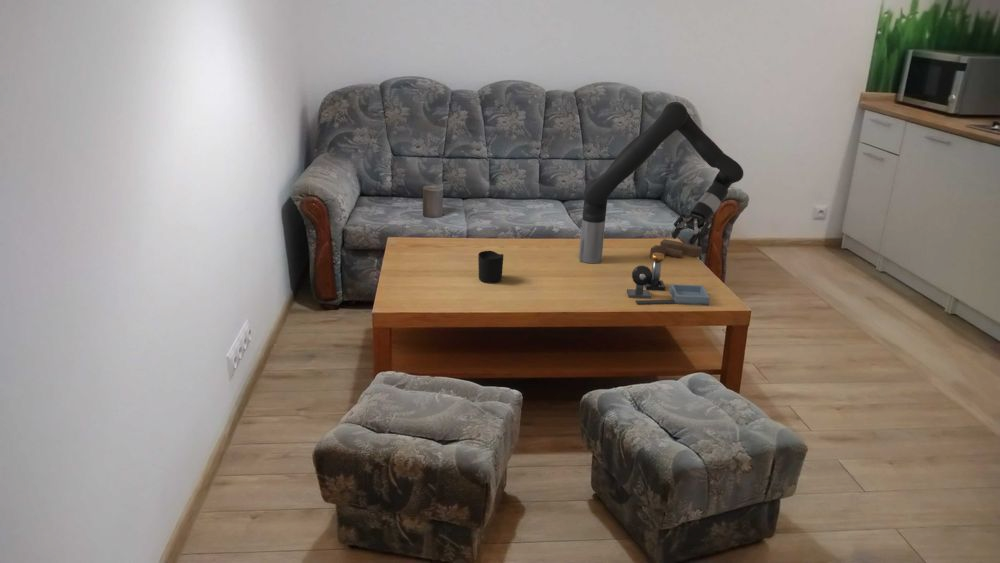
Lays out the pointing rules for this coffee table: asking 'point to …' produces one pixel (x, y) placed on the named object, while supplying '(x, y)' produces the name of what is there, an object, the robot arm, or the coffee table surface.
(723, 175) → the robot arm
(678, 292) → the tray
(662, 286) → the frame
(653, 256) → the pin
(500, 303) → the coffee table surface
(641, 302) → the strip
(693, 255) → the wooden block set
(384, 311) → the coffee table surface
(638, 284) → the pulley stand
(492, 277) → the pen holder
